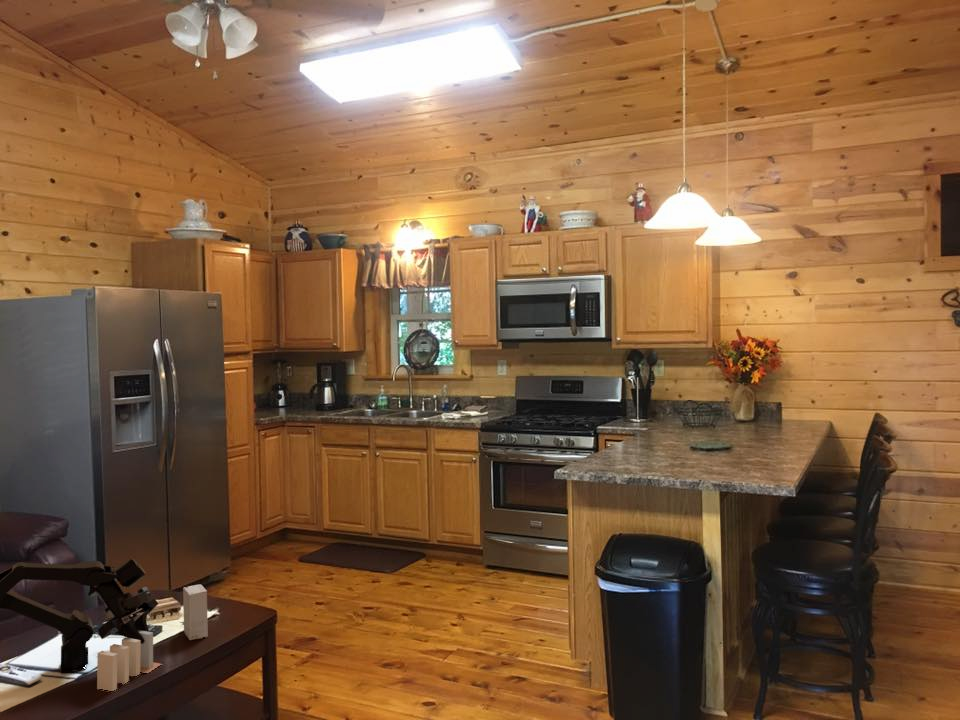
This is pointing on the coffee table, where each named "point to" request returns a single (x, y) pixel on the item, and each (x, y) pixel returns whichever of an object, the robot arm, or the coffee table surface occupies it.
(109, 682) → the domino
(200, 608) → the skincare box
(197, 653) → the coffee table surface
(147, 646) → the domino
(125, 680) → the domino
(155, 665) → the tile
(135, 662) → the domino
